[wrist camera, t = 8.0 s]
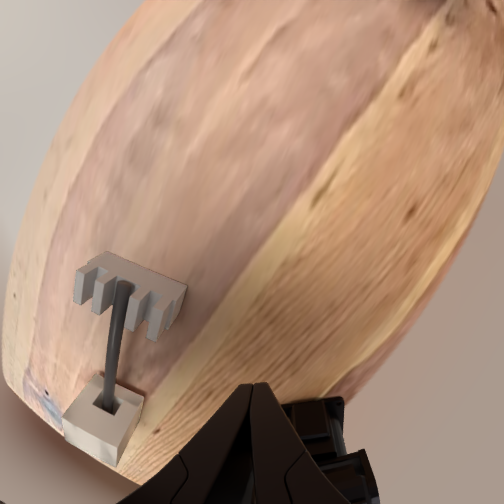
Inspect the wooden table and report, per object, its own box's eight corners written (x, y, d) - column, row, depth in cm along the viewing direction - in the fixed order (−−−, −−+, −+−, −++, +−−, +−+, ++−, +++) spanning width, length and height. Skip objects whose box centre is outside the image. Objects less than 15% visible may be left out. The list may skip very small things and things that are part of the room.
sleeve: (96, 373, 23) (61, 416, 16) (144, 397, 23) (117, 447, 17) (94, 398, 24) (65, 440, 17) (139, 420, 24) (116, 467, 18)
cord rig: (107, 251, 21) (70, 270, 16) (187, 285, 21) (165, 315, 16) (91, 404, 25) (72, 432, 21) (147, 431, 26) (132, 463, 21)
